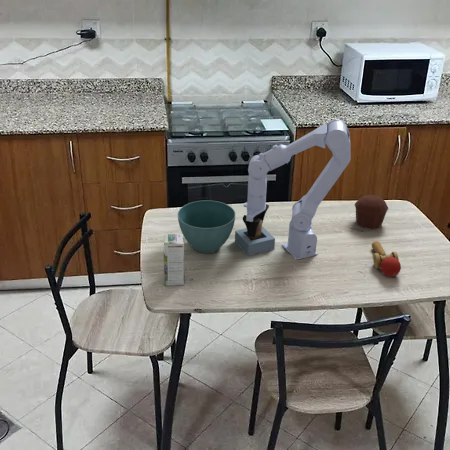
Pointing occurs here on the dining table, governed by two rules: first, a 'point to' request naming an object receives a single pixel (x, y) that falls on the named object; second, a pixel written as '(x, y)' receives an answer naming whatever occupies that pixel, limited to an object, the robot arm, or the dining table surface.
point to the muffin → (370, 211)
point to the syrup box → (173, 259)
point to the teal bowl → (206, 224)
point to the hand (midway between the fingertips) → (255, 230)
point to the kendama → (385, 260)
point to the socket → (254, 241)
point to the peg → (258, 233)
